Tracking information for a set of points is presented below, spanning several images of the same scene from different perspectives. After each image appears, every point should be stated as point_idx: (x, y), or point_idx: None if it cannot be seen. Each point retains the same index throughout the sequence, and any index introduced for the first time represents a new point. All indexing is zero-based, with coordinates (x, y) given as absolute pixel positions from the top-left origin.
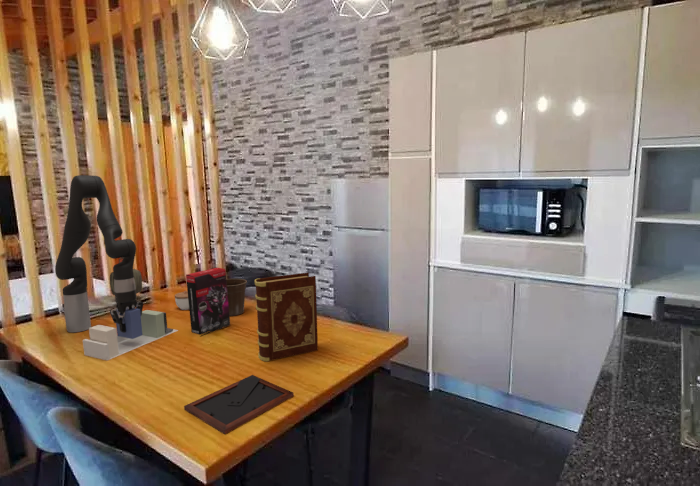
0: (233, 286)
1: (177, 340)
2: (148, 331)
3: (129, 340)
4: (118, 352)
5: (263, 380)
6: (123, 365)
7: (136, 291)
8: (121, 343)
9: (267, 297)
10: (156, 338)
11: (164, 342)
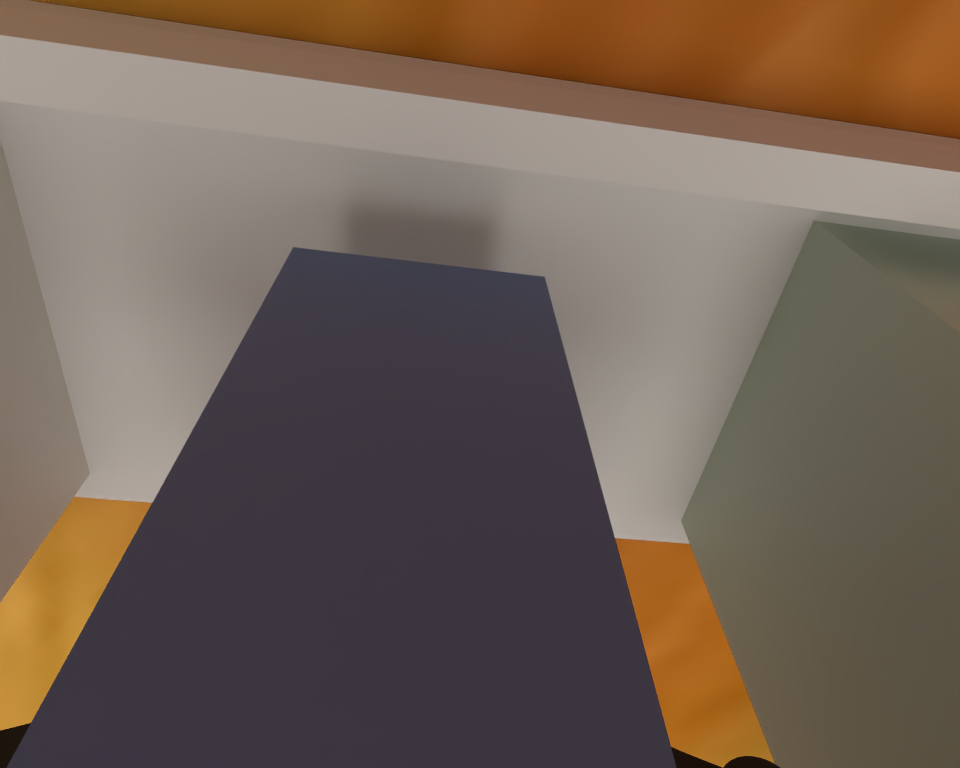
0: None
1: (697, 634)
2: (771, 438)
3: (532, 233)
4: (73, 492)
5: None
6: (25, 603)
7: None
8: (376, 209)
9: None
10: (664, 518)
11: (630, 573)
